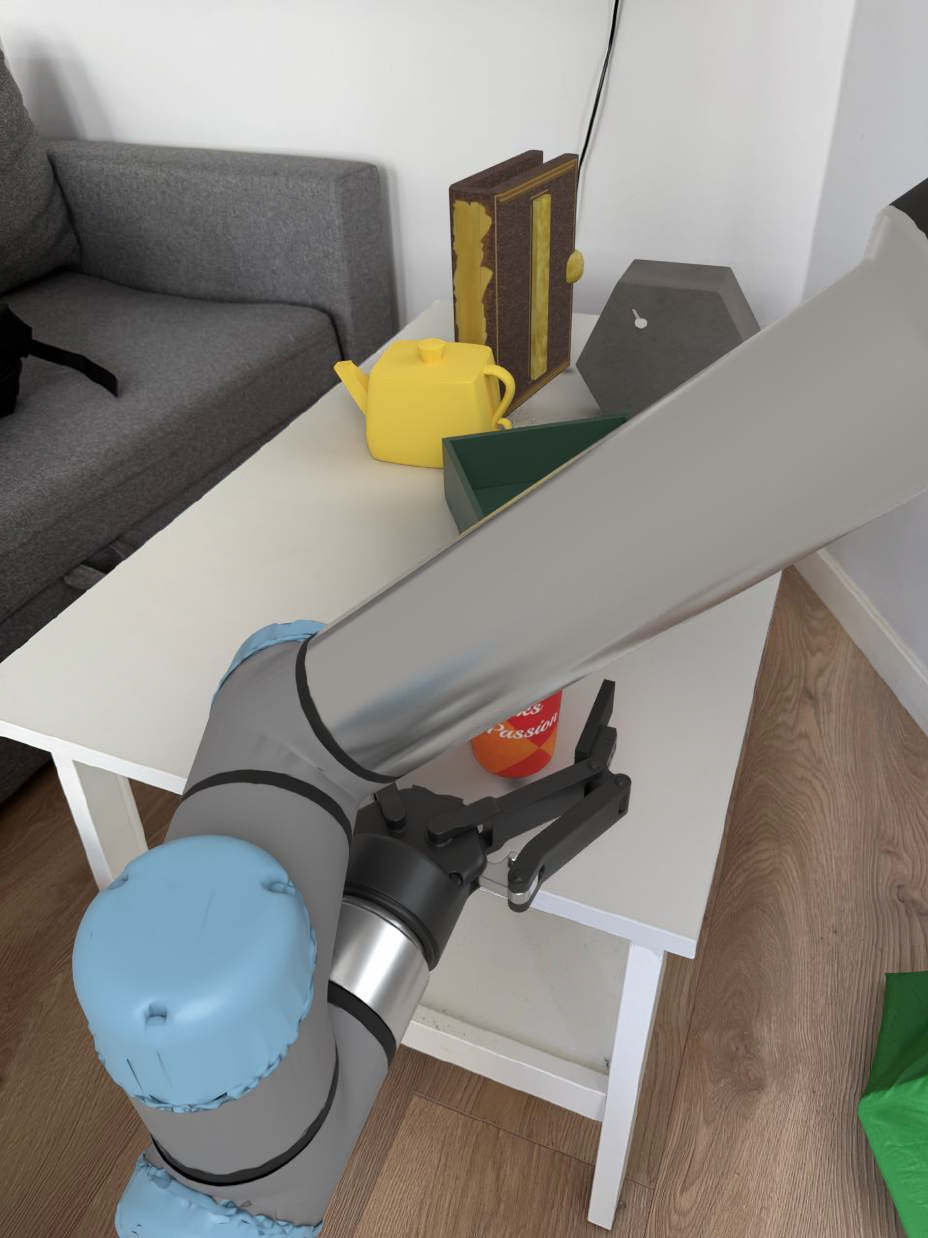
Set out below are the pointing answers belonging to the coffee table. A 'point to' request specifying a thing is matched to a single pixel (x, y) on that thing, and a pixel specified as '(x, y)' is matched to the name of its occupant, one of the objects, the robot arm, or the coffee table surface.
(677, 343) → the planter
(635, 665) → the coffee table surface
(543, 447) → the bin
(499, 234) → the book
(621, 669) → the coffee table surface
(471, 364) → the teapot
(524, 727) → the coffee cup
